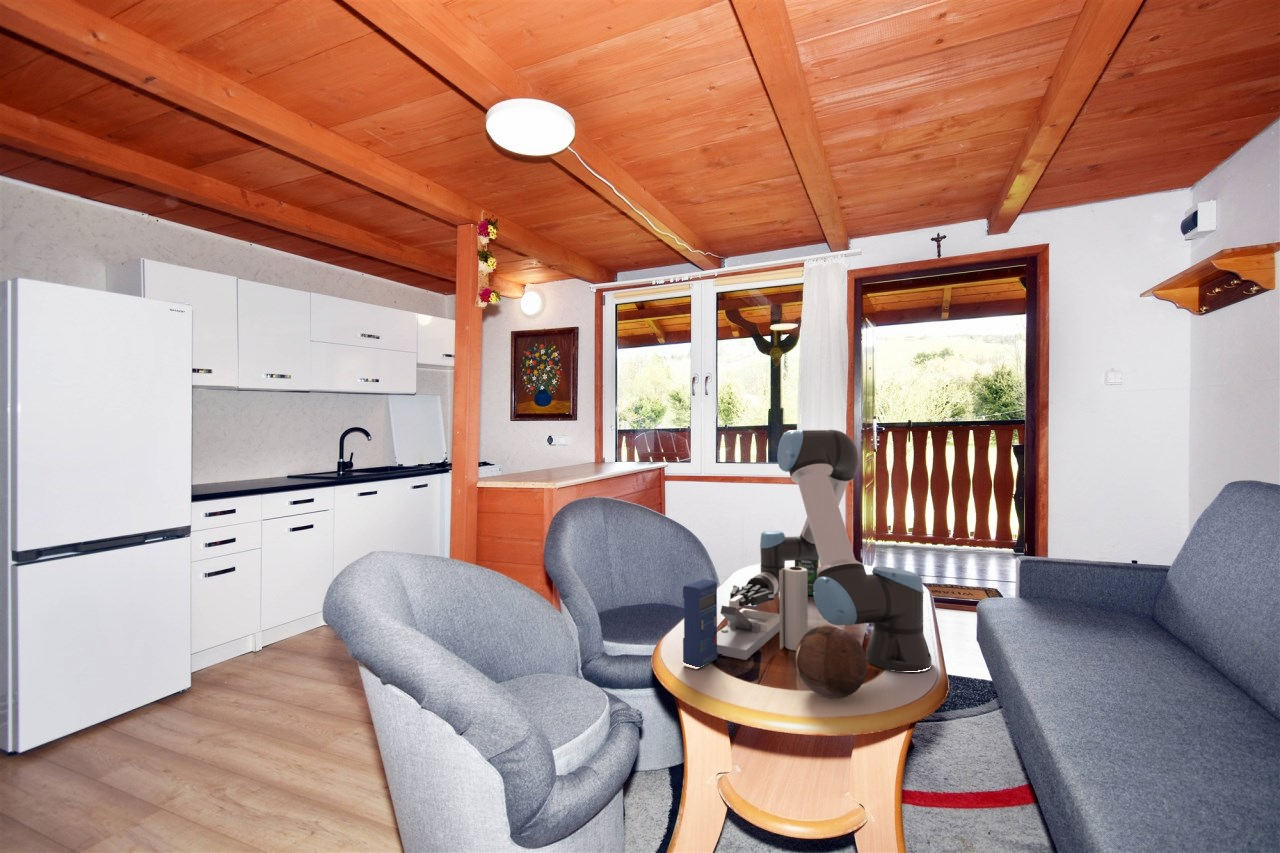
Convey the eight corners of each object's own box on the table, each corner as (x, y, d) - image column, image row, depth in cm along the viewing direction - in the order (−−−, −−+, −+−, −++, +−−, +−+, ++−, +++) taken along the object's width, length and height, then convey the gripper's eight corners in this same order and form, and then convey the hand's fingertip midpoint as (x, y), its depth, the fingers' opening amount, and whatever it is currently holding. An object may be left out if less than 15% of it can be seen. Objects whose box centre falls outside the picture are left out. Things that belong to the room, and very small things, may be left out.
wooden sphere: (873, 690, 133) (872, 623, 134) (860, 717, 121) (859, 642, 121) (805, 676, 141) (805, 613, 141) (787, 700, 128) (786, 630, 128)
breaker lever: (738, 622, 170) (720, 605, 159) (754, 624, 168) (737, 607, 157) (736, 629, 169) (718, 612, 158) (752, 632, 167) (735, 615, 156)
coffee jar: (790, 594, 215) (790, 543, 216) (795, 589, 223) (794, 539, 223) (818, 597, 211) (818, 545, 212) (822, 592, 218) (821, 541, 219)
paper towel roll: (807, 644, 163) (807, 566, 163) (807, 652, 157) (807, 571, 158) (780, 642, 165) (780, 564, 165) (779, 650, 159) (779, 569, 160)
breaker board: (742, 622, 182) (742, 608, 183) (781, 629, 176) (780, 614, 176) (703, 651, 158) (703, 634, 158) (746, 660, 152) (745, 642, 152)
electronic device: (699, 671, 145) (699, 588, 145) (681, 666, 148) (681, 585, 148) (718, 659, 152) (718, 581, 153) (701, 655, 155) (701, 578, 156)
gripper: (782, 602, 179) (754, 623, 159) (742, 596, 186) (709, 616, 165) (782, 577, 179) (754, 595, 159) (741, 572, 186) (709, 588, 166)
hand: (731, 605), depth 162 cm, fingers closed
